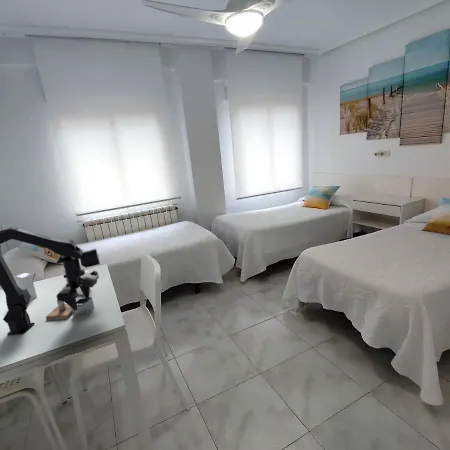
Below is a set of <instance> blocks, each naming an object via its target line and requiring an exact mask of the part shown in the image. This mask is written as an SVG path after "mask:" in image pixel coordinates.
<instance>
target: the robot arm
mask: <svg viewBox="0 0 450 450" xmlns="http://www.w3.org/2000/svg"><path fill="white" fill-rule="evenodd" d="M11 240H15V241H18V242H22V243H26V244H30V245H32V246H36V247H40V248H44V249H48V250H49V251H52V252H53V253H54V254H56V255H59V258H58V259H57V260H56V264H58V265H59V264H62V266H63V269H64V270H65V273H66V274H64V275H63V278H64V279H66V278H67V281H68V284H67V283H66V284H65V285H66V289H65V288H64V289H62V290H61V291H59V292H58V293H57V295H56V301H57V300H58V301H64V303H65V304H68V305H69V306H70V307H71V308H72V309H73V310H77V303H76V300H77V299H78V298H79V294H78V293H77V289H78V288H79V287H80V289H81V291H82V292H83V296H84V298H85V297H90V293H91V292H90V290H91V288H94V287H95V285H97V283H98V279H99V278H100V276H99V273H98V271H97V270H93V271H91V272H89V273H85V271H86V270H85V269H86V268H90V267H95V266H99V265H101V262H100V256H99V254H98V250H97V248H93V249H90V250H84V251H83V249H81V248H80V247H79V246H77V244H76V242H75V241H74V240H72V239H71V238H70V239H69V238H61V237H58V238H57V237H51V236H47V235H43V234H40V233H37V232H33V231H29V230H26V229H22V228H19V227H17V226H10V227H8V228H5V229H3V230H0V287H1V289H2V290H3V293H4V294H5V301H6V302H5V303H6V307H7V312H6V313H5V315H4V317H3V319H2V320H3V321H4V322H5V323H6V324H7V325H8V329H9V331H8V332H7V333H6V335H7V336H10V335H11V336H12V335H13V336H14V335H23V334H25V333H26V332H27V331H29V329H30V328H32V327H33V326H34V325H35V322H31V319H30V316H29V313H28V312H27V309H28V307H29V305H30V303H31V300H32V299H30V298H31V295H30V294H29V293H28V290H27V288H26V289H24V290H22V289H21V288H19V285H18V282H17V280H16V279H15V277H14V276H13V273H12V272H11V270H10V268H9V266H8V264H7V262H6V261H5V258H4V256H3V255H2V245H1V244H3V243H7V242H8V241H11ZM80 266H81V267H80ZM82 267H83V268H85V269H83V268H82ZM81 269H82V270H81Z"/></svg>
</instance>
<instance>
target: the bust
mask: <svg viewBox="0 0 450 450" xmlns="http://www.w3.org/2000/svg"><path fill="white" fill-rule="evenodd" d="M84 271H85V273H90V272H89V271H87V270H84ZM77 295H81V296H84V294H83V292H82V291H81V289H80V287H79V288H78V289H77Z"/></svg>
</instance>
